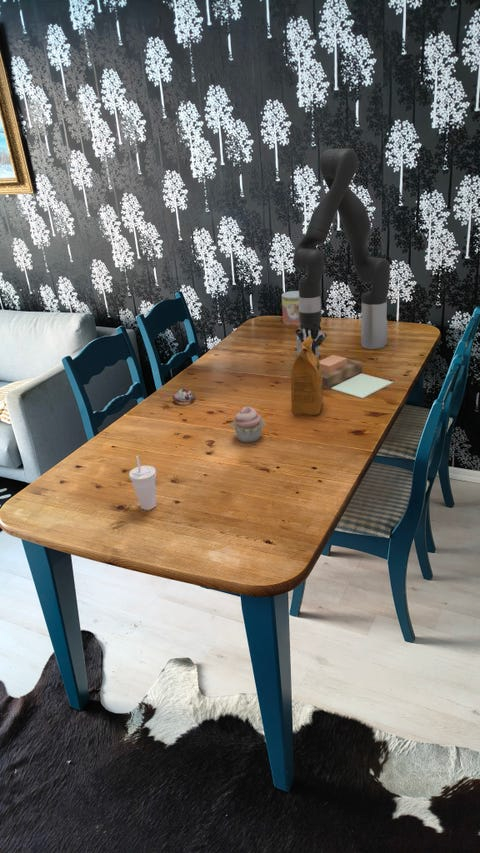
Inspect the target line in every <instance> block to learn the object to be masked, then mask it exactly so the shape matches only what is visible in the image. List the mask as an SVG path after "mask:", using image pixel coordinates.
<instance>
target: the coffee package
mask: <svg viewBox="0 0 480 853" xmlns="http://www.w3.org/2000/svg"><path fill="white" fill-rule="evenodd" d="M312 342H313V339H312V338H311V337H307V339H306V340H305V341H304V342H303V343H301V347H302V351H301V353H300V354H299V356H298V355H297V357H296V358H295V360H294V362H293V365H292V368H291V376H290V378H291V379H290V391H291V393H290V394H291V396H290V397H291V398H290V399H291V400H290V401H291V413H292V415H293V416H301V415H309V416H314V415H319V414H320V412H321V409H322V405H323V400H324V397H323V396H324V388H323V376H322V369H321V365H320V362H319V361H320V360H319V358H317V357H316V356H315V355H314V354H313V352H312V349H311V347H310V345H311V344H312Z"/></svg>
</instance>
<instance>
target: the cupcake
mask: <svg viewBox="0 0 480 853" xmlns="http://www.w3.org/2000/svg"><path fill="white" fill-rule="evenodd" d="M264 424H265V421H264V420H263V418H262V417H261V416H260V414H259V413H257V411H256V409H254V408H252V407H250V406H245V407H243V408H242V409H241V411H239V412H238V413H237V414H235V418H234V420H233V422H232V423H231V426H232V427H233V429H234V431H235V433H236V436H237V439H238V441H240V442H241V443H245V444H246V443H248V444H249V443H253V442H254V443H255V442H257V441H259V440H260V438H261V433H262V429H263V426H264Z"/></svg>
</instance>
